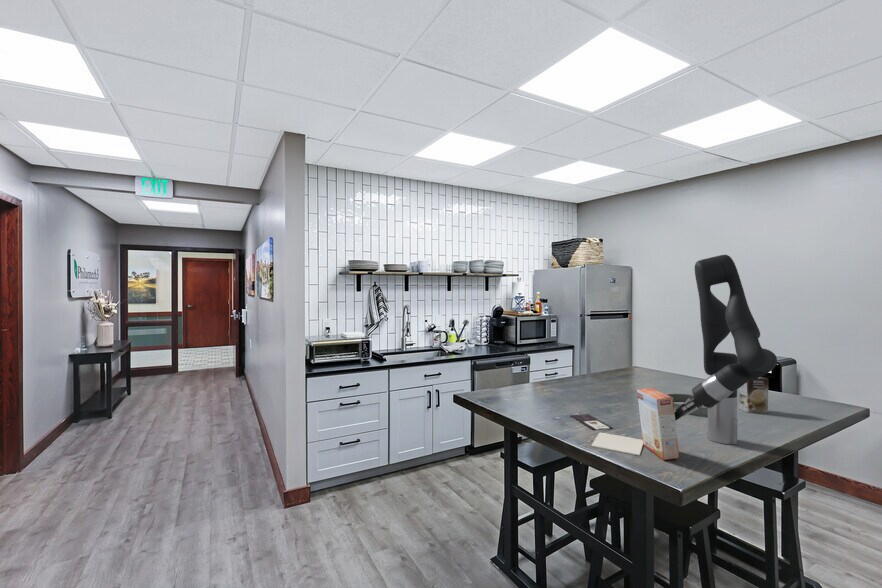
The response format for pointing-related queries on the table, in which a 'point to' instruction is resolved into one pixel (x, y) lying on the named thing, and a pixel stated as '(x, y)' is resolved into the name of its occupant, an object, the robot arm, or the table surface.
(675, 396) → the cake pan
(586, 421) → the chocolate bar
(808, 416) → the table surface
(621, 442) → the mat
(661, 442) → the cracker box
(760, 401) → the coffee box
